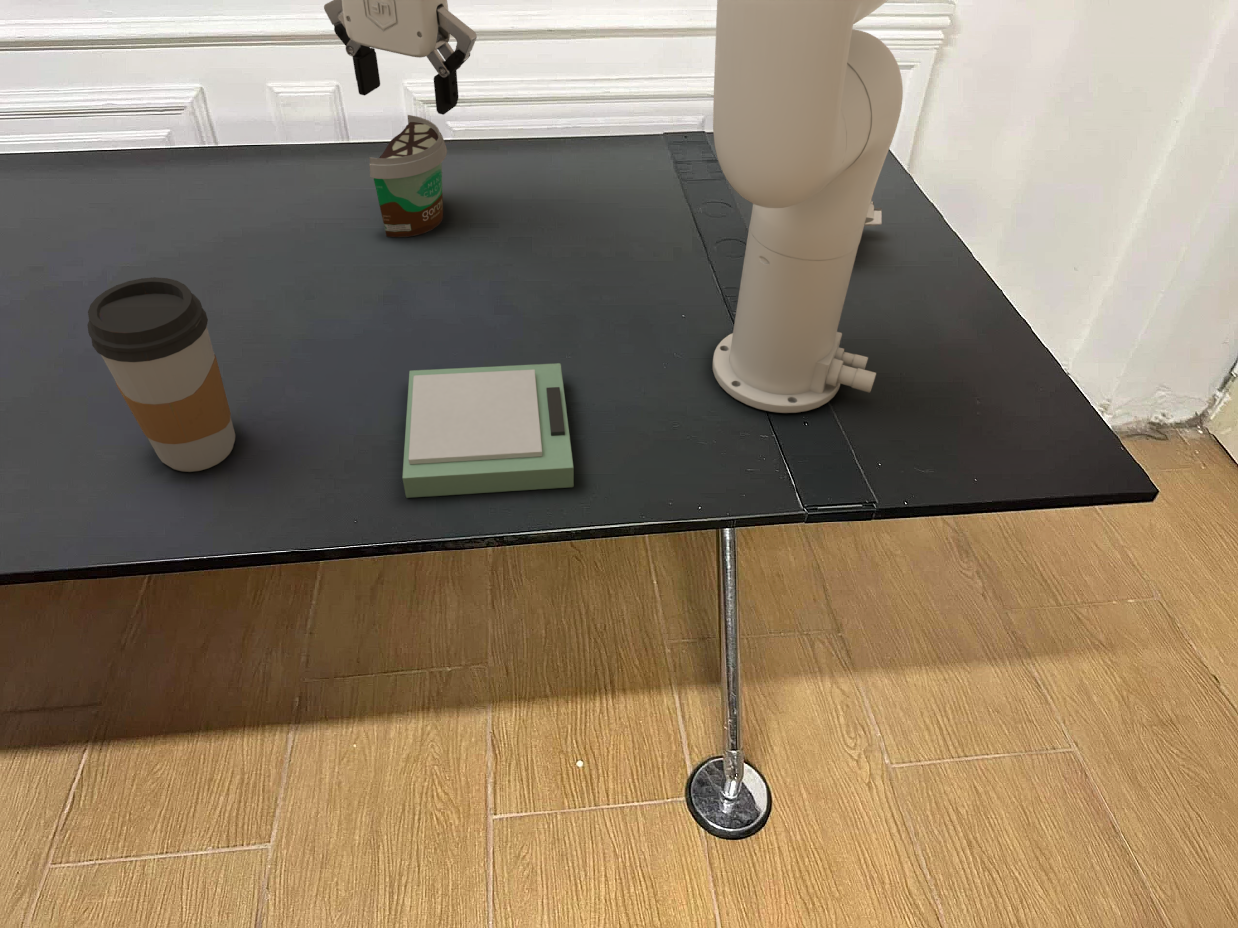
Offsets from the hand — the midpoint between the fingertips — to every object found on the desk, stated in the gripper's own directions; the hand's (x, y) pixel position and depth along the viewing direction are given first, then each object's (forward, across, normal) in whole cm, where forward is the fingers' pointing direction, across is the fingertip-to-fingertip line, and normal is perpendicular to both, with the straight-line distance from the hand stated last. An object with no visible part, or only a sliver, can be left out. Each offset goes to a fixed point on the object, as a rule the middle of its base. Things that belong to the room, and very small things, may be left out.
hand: (408, 100), depth 97 cm
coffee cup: (+14, +4, -42) cm, 45 cm away
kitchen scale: (+14, +26, -30) cm, 42 cm away
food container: (+14, 0, 0) cm, 14 cm away
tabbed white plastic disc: (+14, +44, +15) cm, 49 cm away
